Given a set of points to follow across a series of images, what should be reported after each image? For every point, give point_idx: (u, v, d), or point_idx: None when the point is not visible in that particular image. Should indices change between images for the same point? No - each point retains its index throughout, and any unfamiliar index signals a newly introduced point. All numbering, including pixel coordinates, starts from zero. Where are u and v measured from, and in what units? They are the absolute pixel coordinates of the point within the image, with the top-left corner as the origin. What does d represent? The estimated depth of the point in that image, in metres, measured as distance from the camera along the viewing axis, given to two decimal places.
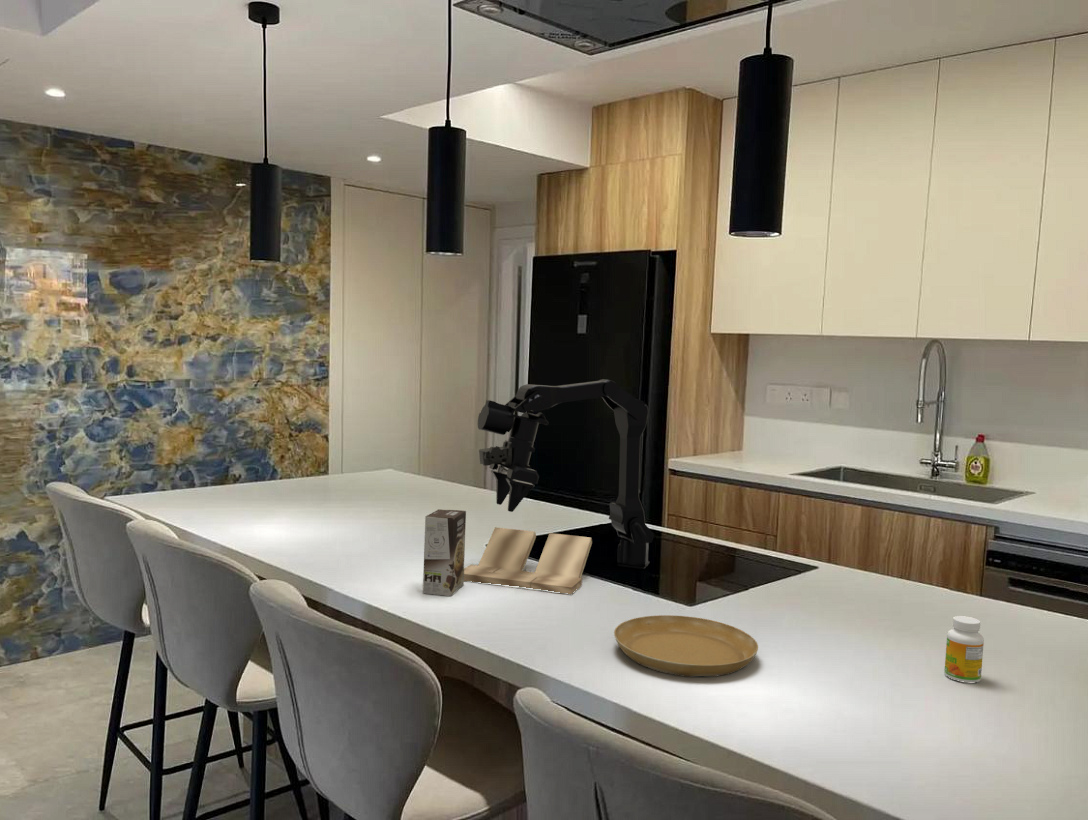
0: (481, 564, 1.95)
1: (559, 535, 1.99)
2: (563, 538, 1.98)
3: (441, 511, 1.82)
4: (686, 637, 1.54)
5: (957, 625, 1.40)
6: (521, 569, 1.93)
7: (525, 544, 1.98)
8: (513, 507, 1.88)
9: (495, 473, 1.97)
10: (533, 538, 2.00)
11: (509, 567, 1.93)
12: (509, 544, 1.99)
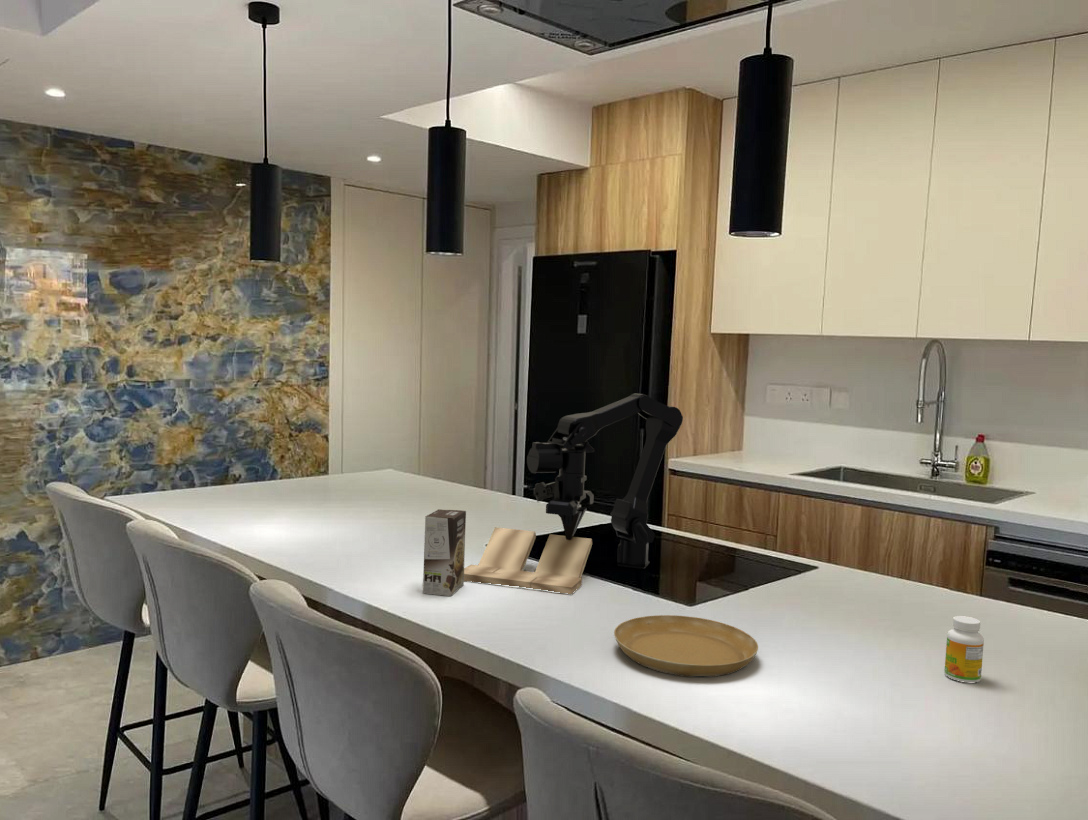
0: (481, 564, 1.95)
1: (559, 536, 1.99)
2: (563, 539, 1.98)
3: (441, 511, 1.82)
4: (686, 637, 1.54)
5: (957, 625, 1.40)
6: (521, 569, 1.93)
7: (525, 544, 1.98)
8: (569, 535, 1.97)
9: None
10: (533, 538, 2.00)
11: (509, 567, 1.93)
12: (509, 544, 1.99)
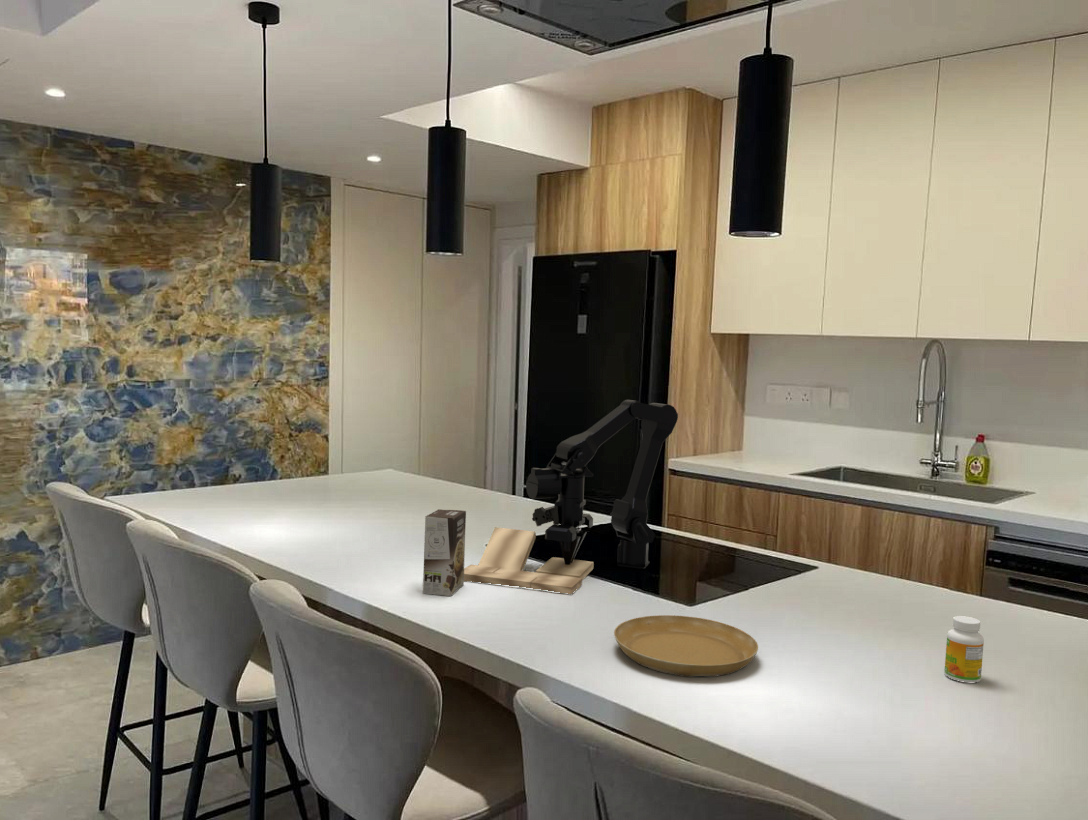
0: (481, 564, 1.95)
1: (562, 558, 2.02)
2: None
3: (441, 511, 1.82)
4: (686, 637, 1.54)
5: (957, 625, 1.40)
6: (521, 569, 1.93)
7: (525, 544, 1.98)
8: (568, 560, 1.97)
9: None
10: (533, 538, 2.00)
11: (509, 567, 1.93)
12: (509, 544, 1.99)
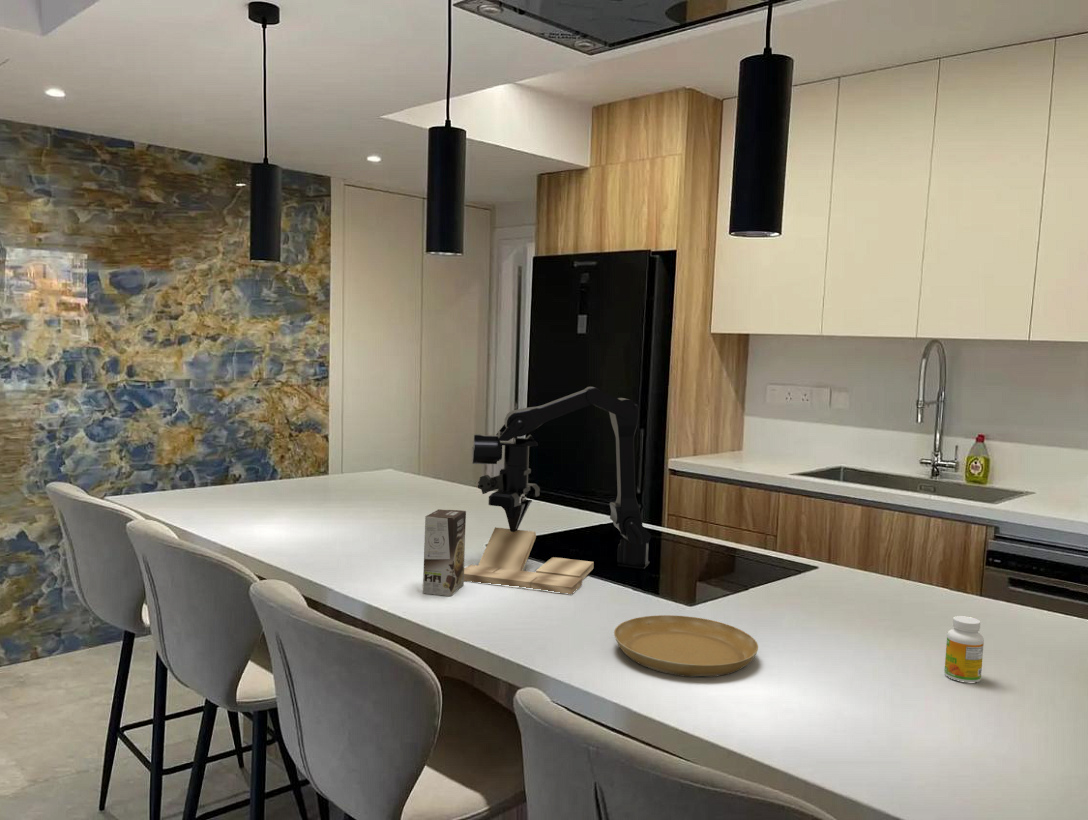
0: (481, 564, 1.95)
1: (562, 558, 2.02)
2: (566, 560, 2.01)
3: (441, 511, 1.82)
4: (686, 637, 1.54)
5: (957, 625, 1.40)
6: (521, 569, 1.93)
7: (525, 544, 1.98)
8: (513, 527, 2.00)
9: None
10: (533, 538, 2.00)
11: (509, 567, 1.93)
12: (509, 544, 1.99)
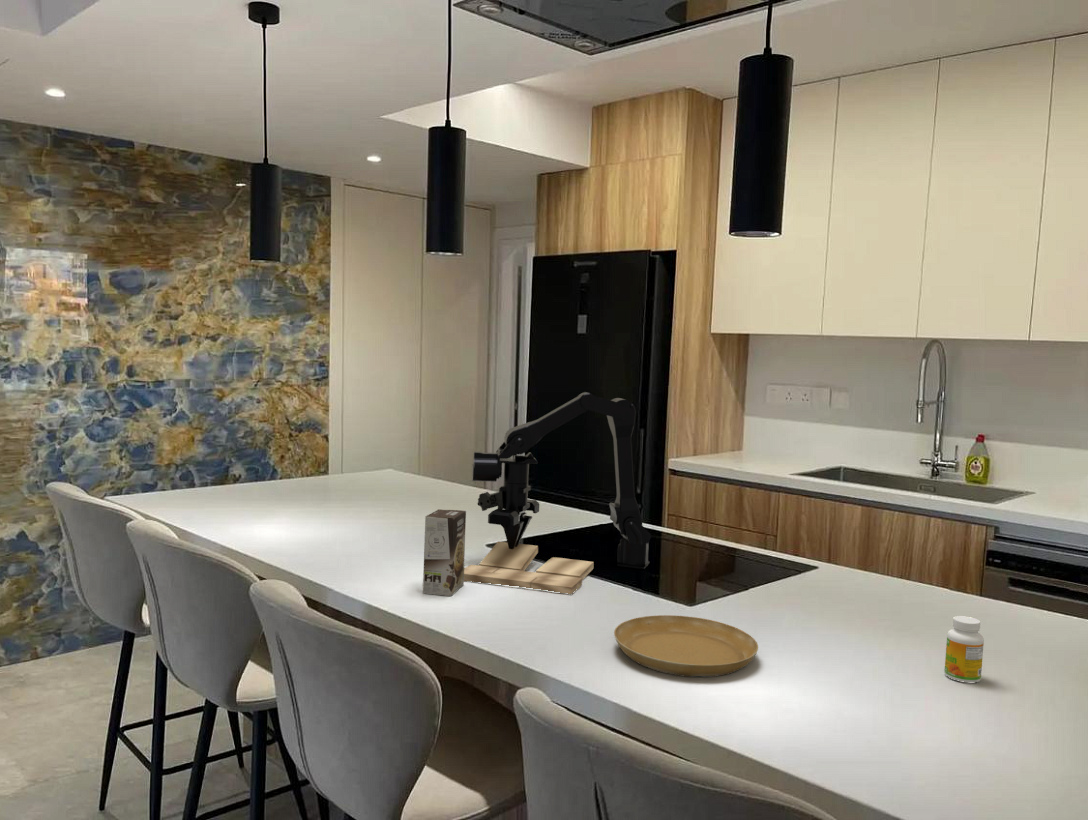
0: (482, 563, 1.96)
1: (562, 558, 2.02)
2: (566, 560, 2.01)
3: (441, 511, 1.82)
4: (686, 637, 1.54)
5: (957, 625, 1.40)
6: (522, 570, 1.94)
7: (528, 553, 2.00)
8: (512, 545, 2.01)
9: None
10: (535, 551, 2.02)
11: (510, 566, 1.94)
12: (511, 552, 2.01)
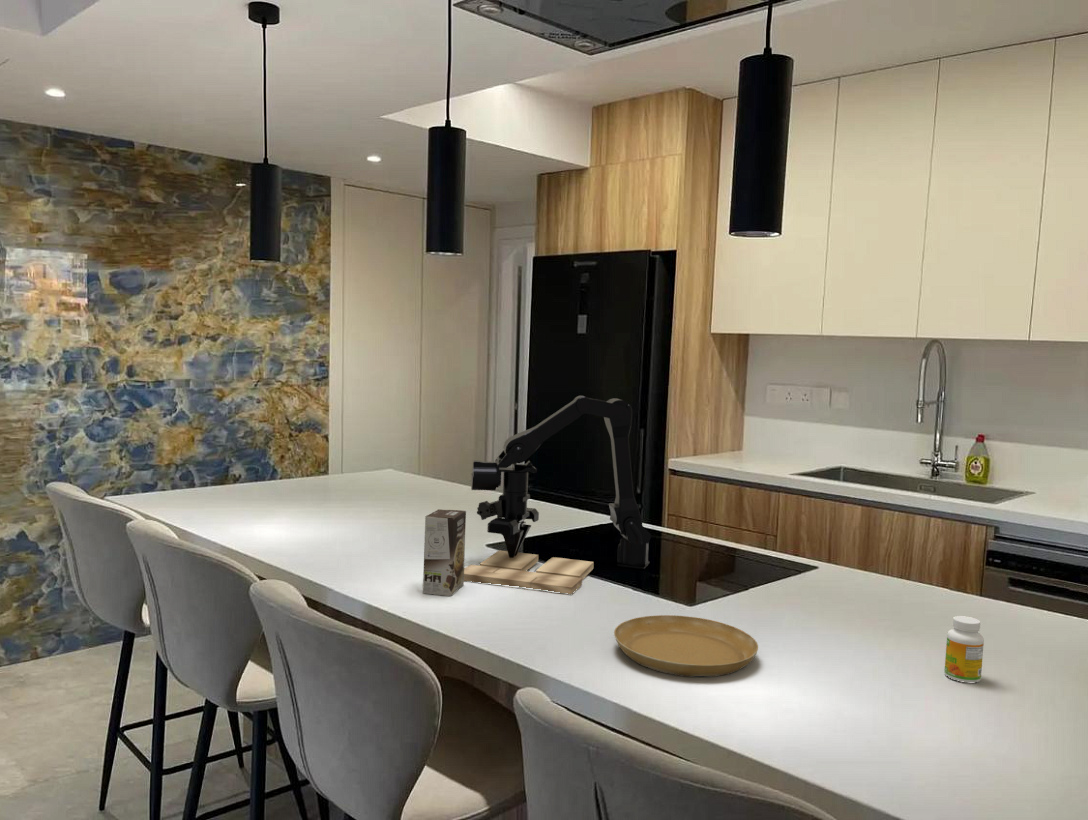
0: (483, 563, 1.96)
1: (562, 558, 2.02)
2: (566, 560, 2.01)
3: (441, 511, 1.82)
4: (686, 637, 1.54)
5: (957, 625, 1.40)
6: (522, 570, 1.94)
7: (528, 559, 2.00)
8: (512, 553, 2.01)
9: None
10: (536, 559, 2.03)
11: (511, 566, 1.94)
12: None
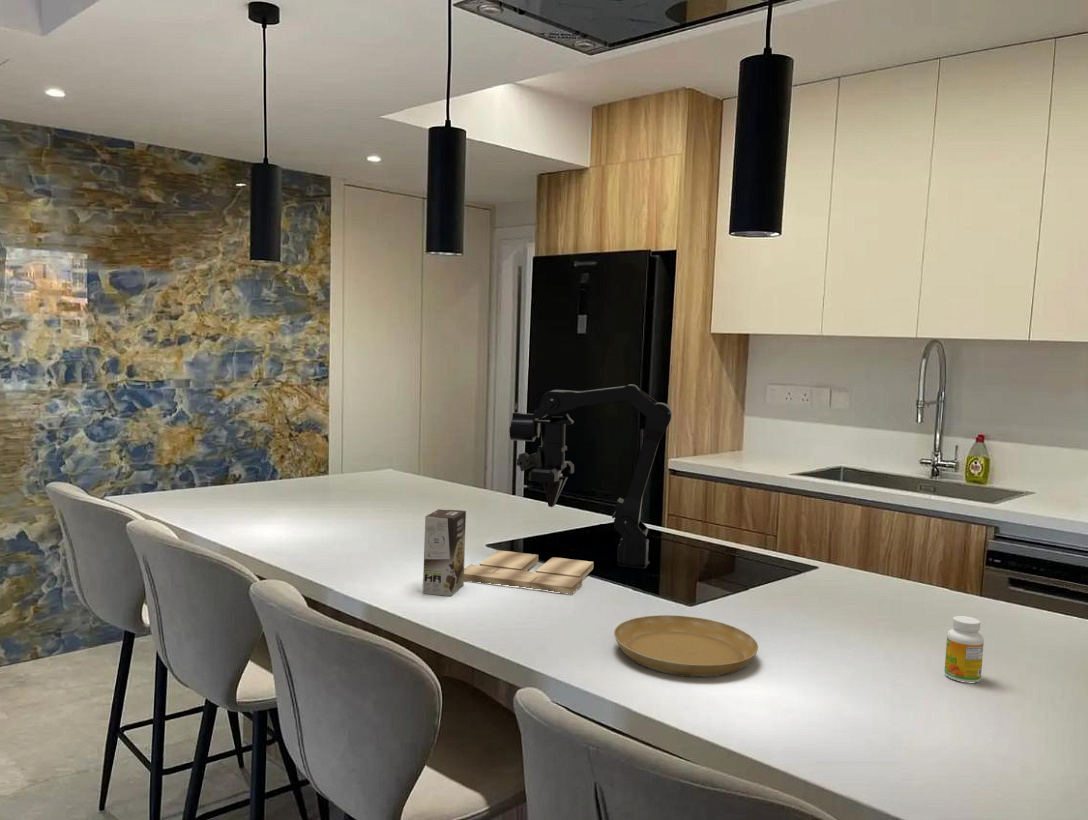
0: (483, 563, 1.96)
1: (562, 558, 2.02)
2: (566, 560, 2.01)
3: (441, 511, 1.82)
4: (686, 637, 1.54)
5: (957, 625, 1.40)
6: (522, 570, 1.94)
7: (528, 559, 2.00)
8: (551, 502, 2.08)
9: None
10: (536, 559, 2.03)
11: (511, 566, 1.94)
12: (512, 557, 2.01)
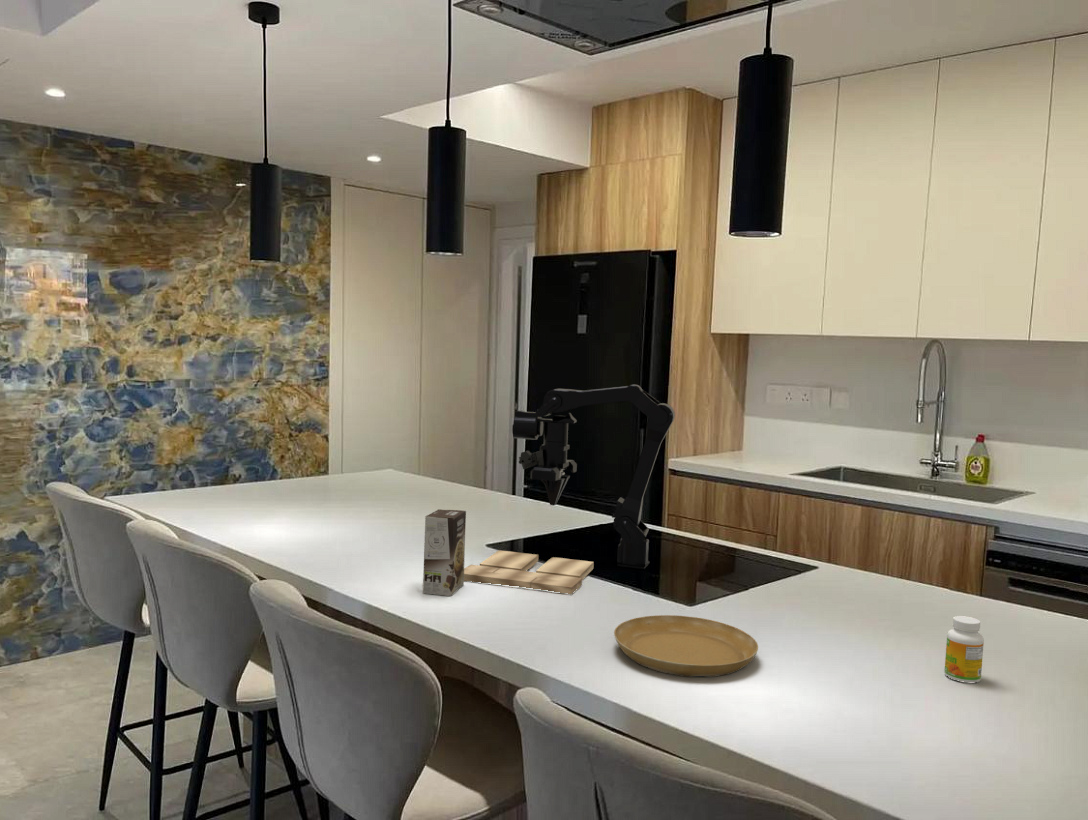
0: (483, 563, 1.96)
1: (562, 558, 2.02)
2: (566, 560, 2.01)
3: (441, 511, 1.82)
4: (686, 637, 1.54)
5: (957, 625, 1.40)
6: (522, 570, 1.94)
7: (528, 559, 2.00)
8: (553, 501, 2.09)
9: None
10: (536, 559, 2.03)
11: (511, 566, 1.94)
12: (512, 557, 2.01)
